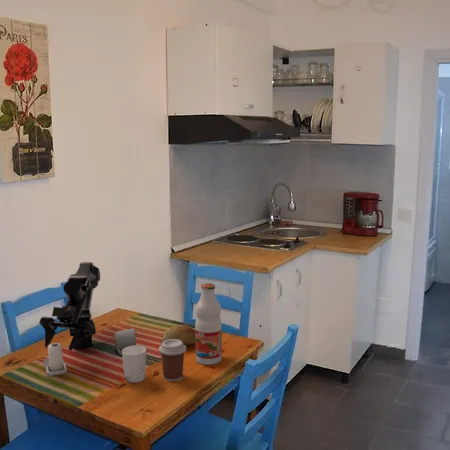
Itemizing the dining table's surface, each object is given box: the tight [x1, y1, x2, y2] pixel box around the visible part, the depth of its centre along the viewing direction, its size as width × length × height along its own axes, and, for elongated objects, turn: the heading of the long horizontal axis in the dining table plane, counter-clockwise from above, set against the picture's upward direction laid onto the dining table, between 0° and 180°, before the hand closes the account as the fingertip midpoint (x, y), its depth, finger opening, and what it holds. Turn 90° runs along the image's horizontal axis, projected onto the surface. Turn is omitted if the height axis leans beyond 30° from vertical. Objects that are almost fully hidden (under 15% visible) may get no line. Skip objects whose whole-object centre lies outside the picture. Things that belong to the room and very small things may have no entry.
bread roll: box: [161, 324, 196, 347], centre depth 208 cm, size 10×15×8 cm, turn 117°
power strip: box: [43, 356, 68, 377], centre depth 187 cm, size 15×6×2 cm, turn 23°
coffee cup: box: [158, 339, 187, 382], centre depth 181 cm, size 9×9×12 cm
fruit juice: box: [194, 282, 223, 366], centre depth 193 cm, size 9×9×28 cm
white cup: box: [121, 345, 147, 384], centre depth 180 cm, size 8×8×10 cm
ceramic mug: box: [113, 328, 137, 356], centre depth 203 cm, size 11×8×8 cm
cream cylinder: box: [47, 342, 64, 372], centre depth 182 cm, size 4×4×9 cm
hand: (57, 348), depth 183 cm, fingers open, 9 cm apart
